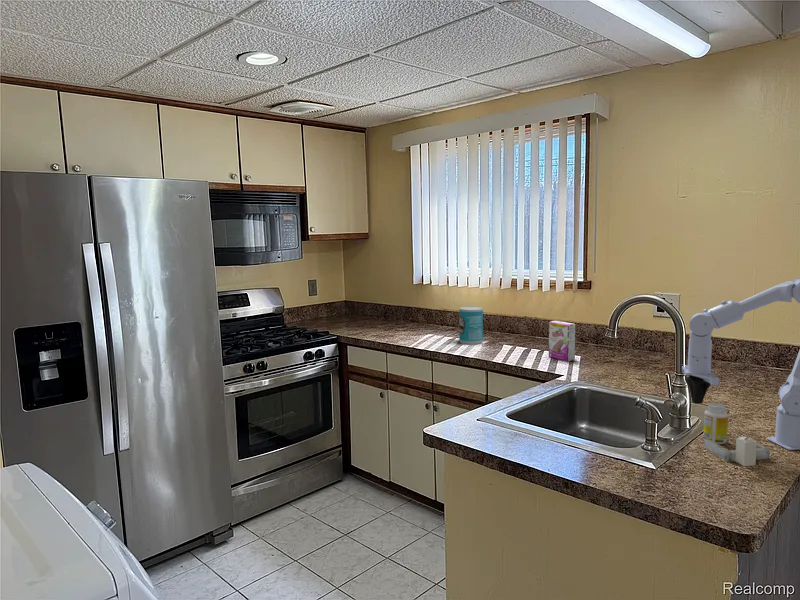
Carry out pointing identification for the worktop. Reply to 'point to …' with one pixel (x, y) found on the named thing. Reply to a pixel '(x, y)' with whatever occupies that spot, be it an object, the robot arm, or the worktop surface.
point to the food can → (471, 325)
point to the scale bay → (733, 451)
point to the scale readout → (745, 451)
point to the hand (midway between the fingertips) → (697, 402)
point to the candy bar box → (562, 340)
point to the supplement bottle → (716, 423)
